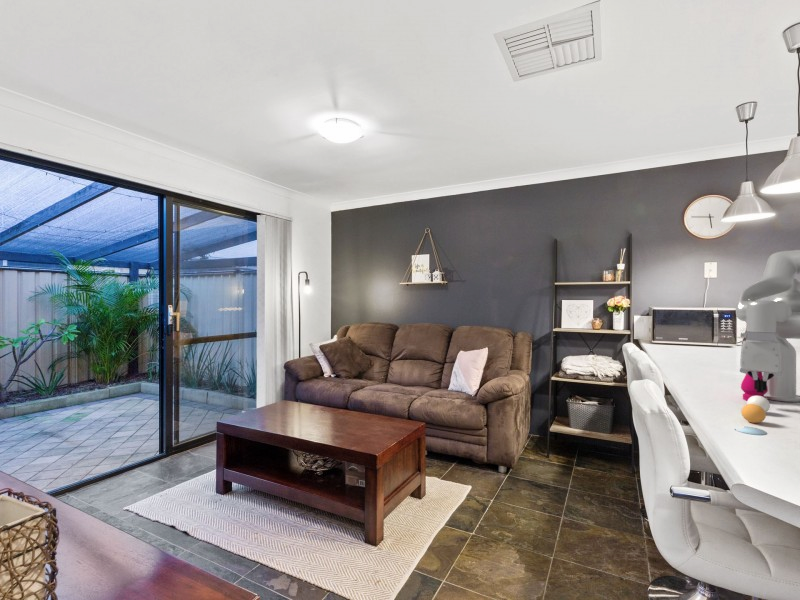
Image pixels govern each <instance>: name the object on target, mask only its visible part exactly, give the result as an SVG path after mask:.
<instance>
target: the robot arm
mask: <svg viewBox="0 0 800 600" xmlns="http://www.w3.org/2000/svg"><path fill="white" fill-rule="evenodd" d="M762 273H763V274H762V277H761V278H760V280H758V281H756V282H754V283H752V284H751V285H749V286H748V287H746V288H745V289H743V290H742V291H741V293H740V295H739V297H738V300H737V302H736V306H735V315H736V318H737V319H738V320H740V321H741V322H746V323H745V326H746V328H745V330H746V331H745V332H743V333H742V332H741V333H740V338H744V339H745V340H743V341H742V344H741V349H740V361H739V362H740V369H739V372H740V373H742V374H745V375H746V374H748V375H749V376H751V377H752V378H753V379H754V389H757V392H758V393H759V392H761V393H764V390H765V391H767V388H768V391H767V393H766V394H764V396H765V397H766V399H767V400H769V401H770V400H772V401H777V402H788V403H789V402H790V403H793V402H794V403H796V402H797V403H799V402H800V395H798V394H797V351H796V349H795V347H794V346H793V345H792V344H791V343H790V342H789V341H788V340H787V339H794V340H800V281H799V280H798V279H796V277H795V276H796V275H800V249H794V250H783V251H782V250H781V251H777V252H774V253H772V254H770V256H769V257H768V258H767V260H766V265H765V267H764V271H763V272H762ZM767 297H769V300H761V299H764V298H767ZM758 372H762V376H763V378H762V379H761V380H760V378H759V377H758Z"/></svg>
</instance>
